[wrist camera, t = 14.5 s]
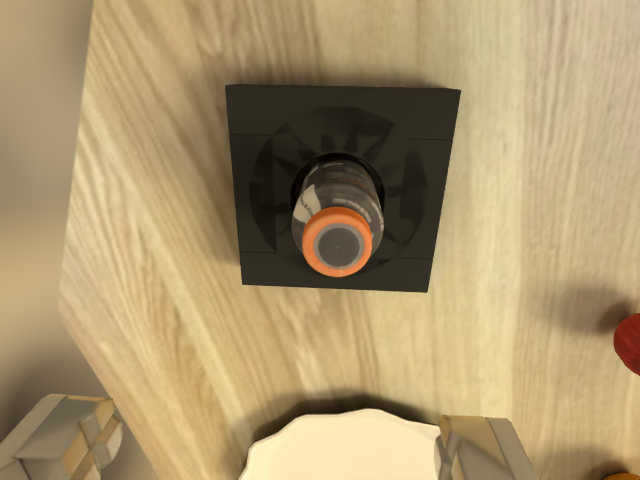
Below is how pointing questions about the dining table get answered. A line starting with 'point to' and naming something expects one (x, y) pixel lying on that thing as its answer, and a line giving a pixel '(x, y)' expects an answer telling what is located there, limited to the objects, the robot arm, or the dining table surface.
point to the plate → (345, 448)
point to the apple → (623, 477)
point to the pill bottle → (337, 216)
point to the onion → (629, 342)
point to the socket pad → (340, 137)
